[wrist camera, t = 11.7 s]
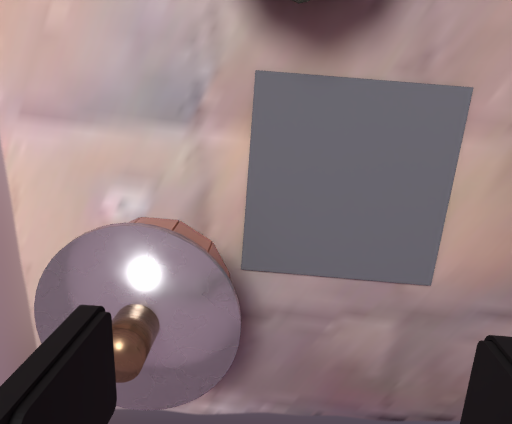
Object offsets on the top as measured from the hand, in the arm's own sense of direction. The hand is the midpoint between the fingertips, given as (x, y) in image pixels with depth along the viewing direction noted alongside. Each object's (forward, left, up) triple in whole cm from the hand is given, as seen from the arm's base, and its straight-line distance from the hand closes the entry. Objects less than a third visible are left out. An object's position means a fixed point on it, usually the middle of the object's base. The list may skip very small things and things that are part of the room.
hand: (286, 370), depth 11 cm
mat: (-6, 0, -26) cm, 27 cm away
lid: (+10, +11, -20) cm, 25 cm away
